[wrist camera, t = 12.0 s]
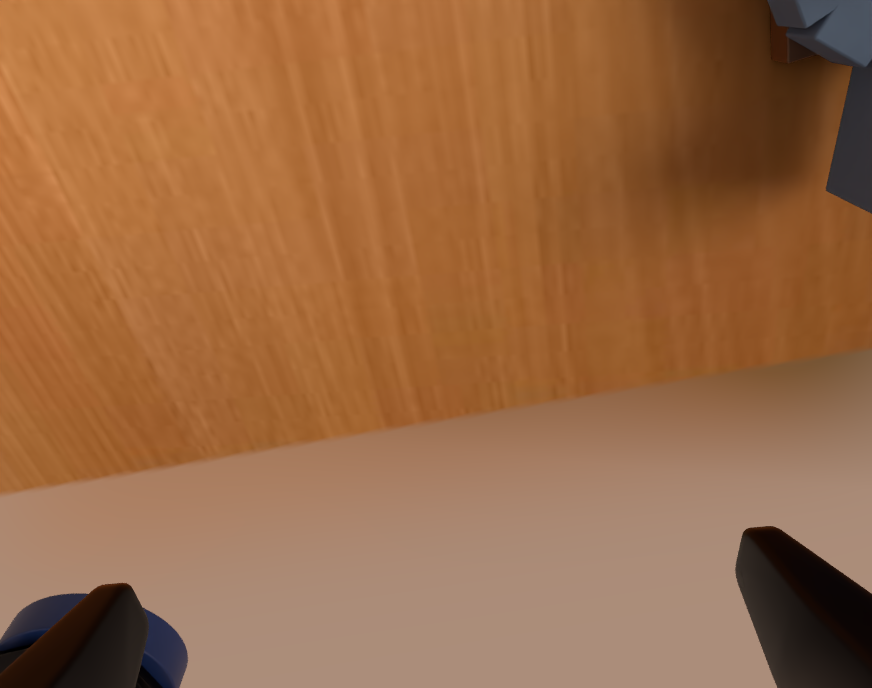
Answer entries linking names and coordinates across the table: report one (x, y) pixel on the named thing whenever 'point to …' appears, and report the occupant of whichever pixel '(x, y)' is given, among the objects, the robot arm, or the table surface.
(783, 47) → the peg stand
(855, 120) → the ring
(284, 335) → the table surface
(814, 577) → the robot arm
